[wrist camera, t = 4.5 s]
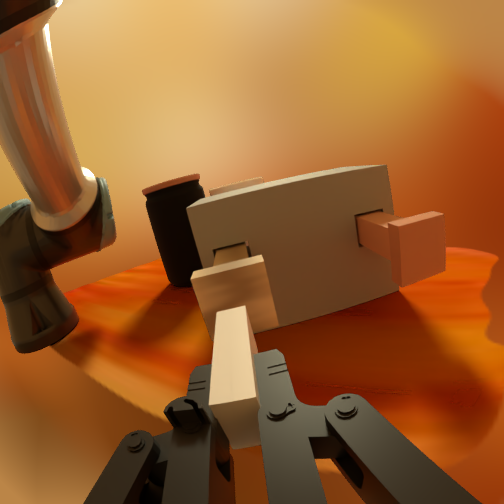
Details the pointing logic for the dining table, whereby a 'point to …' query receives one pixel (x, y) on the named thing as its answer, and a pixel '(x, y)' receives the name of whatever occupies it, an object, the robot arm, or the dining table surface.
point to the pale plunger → (235, 288)
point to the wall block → (303, 237)
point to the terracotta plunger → (405, 243)
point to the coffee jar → (175, 226)
